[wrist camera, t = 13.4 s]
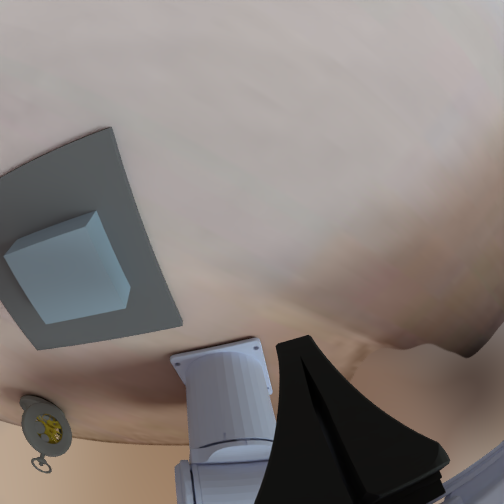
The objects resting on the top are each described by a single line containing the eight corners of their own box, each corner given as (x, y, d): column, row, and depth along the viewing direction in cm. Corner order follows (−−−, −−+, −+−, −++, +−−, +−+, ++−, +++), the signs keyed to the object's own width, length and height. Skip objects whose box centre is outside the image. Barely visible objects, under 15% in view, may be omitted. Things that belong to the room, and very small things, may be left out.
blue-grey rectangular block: (54, 304, 19) (130, 287, 20) (45, 324, 17) (125, 308, 18) (17, 239, 16) (96, 210, 16) (3, 256, 14) (85, 226, 15)
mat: (182, 320, 23) (182, 325, 22) (39, 345, 22) (37, 350, 22) (111, 126, 15) (108, 128, 14) (-44, 205, 14) (-48, 208, 13)
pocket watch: (26, 410, 28) (14, 471, 19) (13, 378, 24) (-7, 449, 16) (79, 426, 30) (72, 490, 22) (73, 398, 27) (62, 474, 18)
